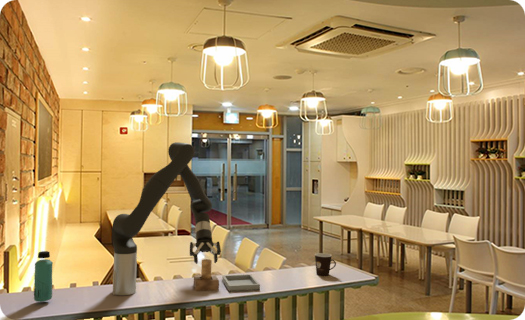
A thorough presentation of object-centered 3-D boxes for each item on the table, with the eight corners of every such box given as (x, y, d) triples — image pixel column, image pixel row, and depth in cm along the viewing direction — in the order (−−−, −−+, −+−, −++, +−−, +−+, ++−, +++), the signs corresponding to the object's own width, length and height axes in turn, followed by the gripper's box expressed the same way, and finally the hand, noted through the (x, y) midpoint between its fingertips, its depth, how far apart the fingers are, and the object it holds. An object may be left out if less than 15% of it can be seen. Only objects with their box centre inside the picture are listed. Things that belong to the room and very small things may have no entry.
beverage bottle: (55, 300, 170) (56, 250, 170) (47, 306, 163) (48, 253, 163) (38, 299, 170) (39, 249, 170) (29, 305, 163) (31, 253, 163)
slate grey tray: (229, 291, 188) (229, 285, 188) (222, 280, 204) (222, 275, 204) (259, 290, 191) (260, 284, 191) (250, 279, 208) (250, 274, 208)
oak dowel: (201, 288, 191) (202, 261, 191) (200, 285, 195) (201, 259, 195) (211, 288, 192) (212, 261, 192) (210, 285, 196) (210, 259, 196)
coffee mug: (311, 272, 224) (312, 253, 224) (326, 271, 226) (327, 252, 226) (321, 278, 213) (321, 258, 213) (336, 277, 215) (337, 257, 215)
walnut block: (196, 290, 187) (196, 281, 187) (193, 284, 197) (193, 275, 197) (218, 289, 190) (218, 280, 190) (215, 283, 200) (215, 274, 200)
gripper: (189, 228, 201) (191, 258, 190) (219, 228, 205) (222, 257, 194) (187, 237, 206) (189, 267, 195) (217, 237, 210) (220, 266, 199)
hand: (206, 262), depth 195 cm, fingers open, 8 cm apart
